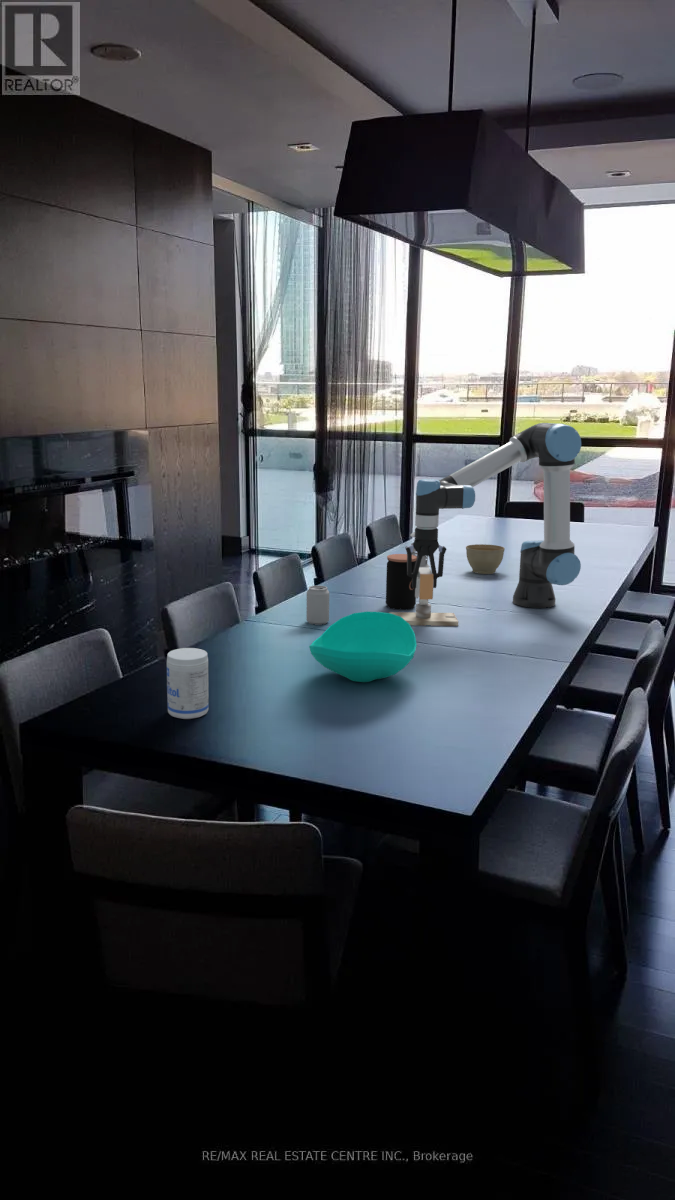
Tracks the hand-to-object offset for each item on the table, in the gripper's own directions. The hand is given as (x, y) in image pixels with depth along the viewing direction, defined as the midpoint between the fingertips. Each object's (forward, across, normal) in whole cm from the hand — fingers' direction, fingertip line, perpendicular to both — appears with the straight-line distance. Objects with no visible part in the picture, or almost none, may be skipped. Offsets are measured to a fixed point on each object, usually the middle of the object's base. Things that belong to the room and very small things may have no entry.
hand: (423, 597), depth 285 cm
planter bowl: (+8, -38, -79) cm, 88 cm away
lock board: (+8, 0, 0) cm, 8 cm away
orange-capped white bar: (+2, 0, 0) cm, 2 cm away
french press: (+8, -13, -91) cm, 92 cm away
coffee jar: (+8, +5, -20) cm, 22 cm away
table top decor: (+8, +25, +57) cm, 63 cm away
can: (+8, +35, +2) cm, 36 cm away
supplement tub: (+8, +68, +82) cm, 107 cm away
